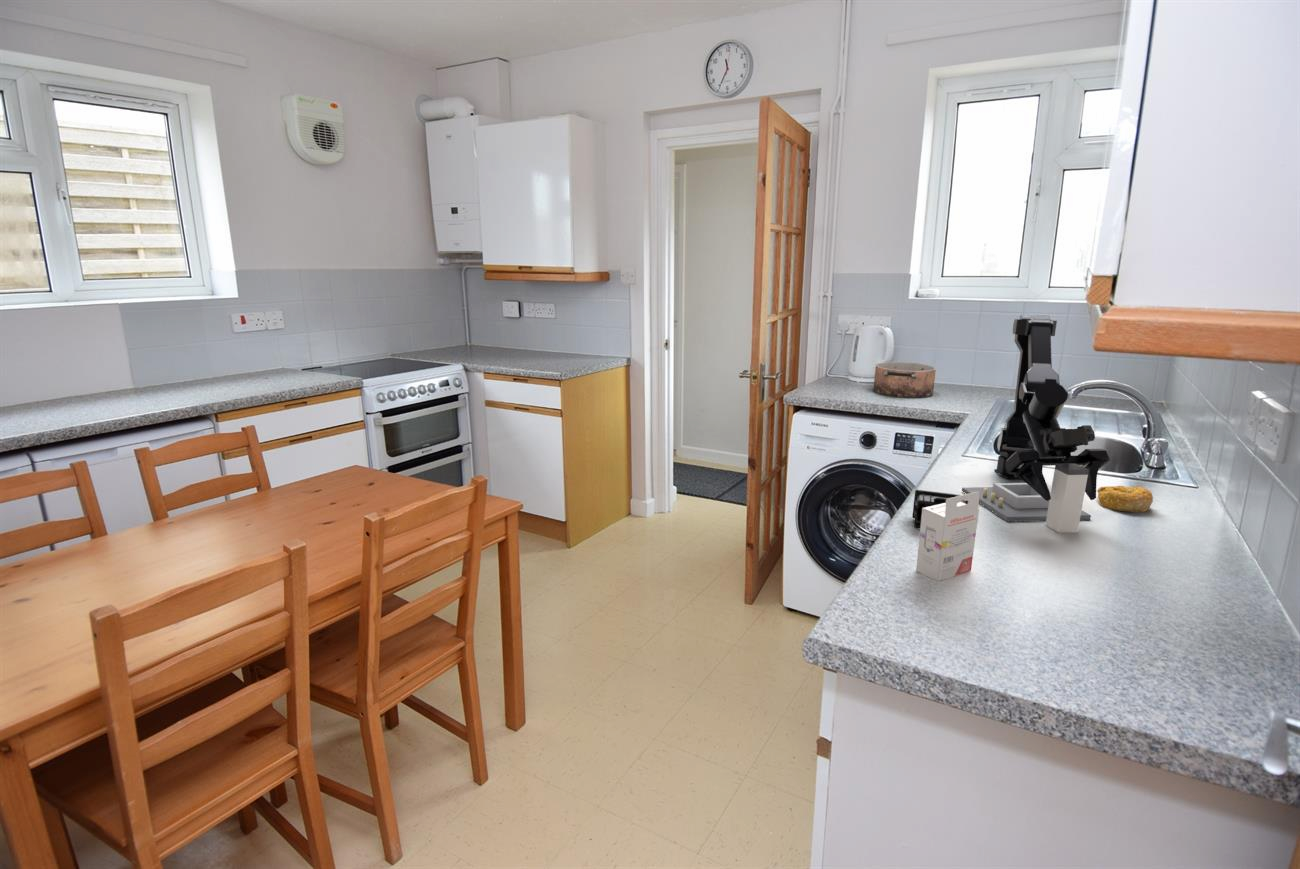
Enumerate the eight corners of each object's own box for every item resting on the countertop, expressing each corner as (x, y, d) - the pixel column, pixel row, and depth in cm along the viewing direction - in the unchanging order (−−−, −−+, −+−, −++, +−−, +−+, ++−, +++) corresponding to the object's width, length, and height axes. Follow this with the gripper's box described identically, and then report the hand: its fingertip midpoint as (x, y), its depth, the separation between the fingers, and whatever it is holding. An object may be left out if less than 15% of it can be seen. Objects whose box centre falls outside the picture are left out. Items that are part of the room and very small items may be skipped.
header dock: (1036, 490, 156) (1038, 476, 155) (1090, 519, 139) (1093, 503, 138) (961, 491, 155) (963, 477, 154) (1006, 521, 138) (1008, 505, 137)
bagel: (1127, 497, 153) (1131, 477, 151) (1162, 515, 142) (1167, 494, 141) (1083, 497, 153) (1087, 477, 151) (1115, 516, 142) (1119, 494, 141)
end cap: (964, 522, 137) (968, 491, 136) (965, 535, 131) (970, 503, 129) (912, 515, 141) (915, 485, 139) (911, 528, 135) (914, 496, 133)
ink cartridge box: (947, 560, 120) (957, 482, 116) (971, 571, 116) (983, 491, 112) (913, 570, 116) (923, 490, 112) (937, 582, 112) (947, 499, 108)
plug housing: (1064, 524, 137) (1074, 463, 133) (1077, 532, 133) (1088, 469, 129) (1045, 524, 136) (1055, 463, 133) (1058, 532, 132) (1069, 470, 129)
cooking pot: (926, 403, 250) (929, 374, 247) (865, 396, 260) (867, 369, 258) (937, 389, 275) (940, 363, 272) (881, 384, 285) (884, 359, 283)
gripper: (1021, 411, 132) (1048, 482, 124) (1112, 410, 133) (1144, 480, 125) (994, 439, 141) (1017, 506, 134) (1078, 437, 142) (1106, 505, 135)
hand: (1071, 499), depth 131 cm, fingers open, 9 cm apart
